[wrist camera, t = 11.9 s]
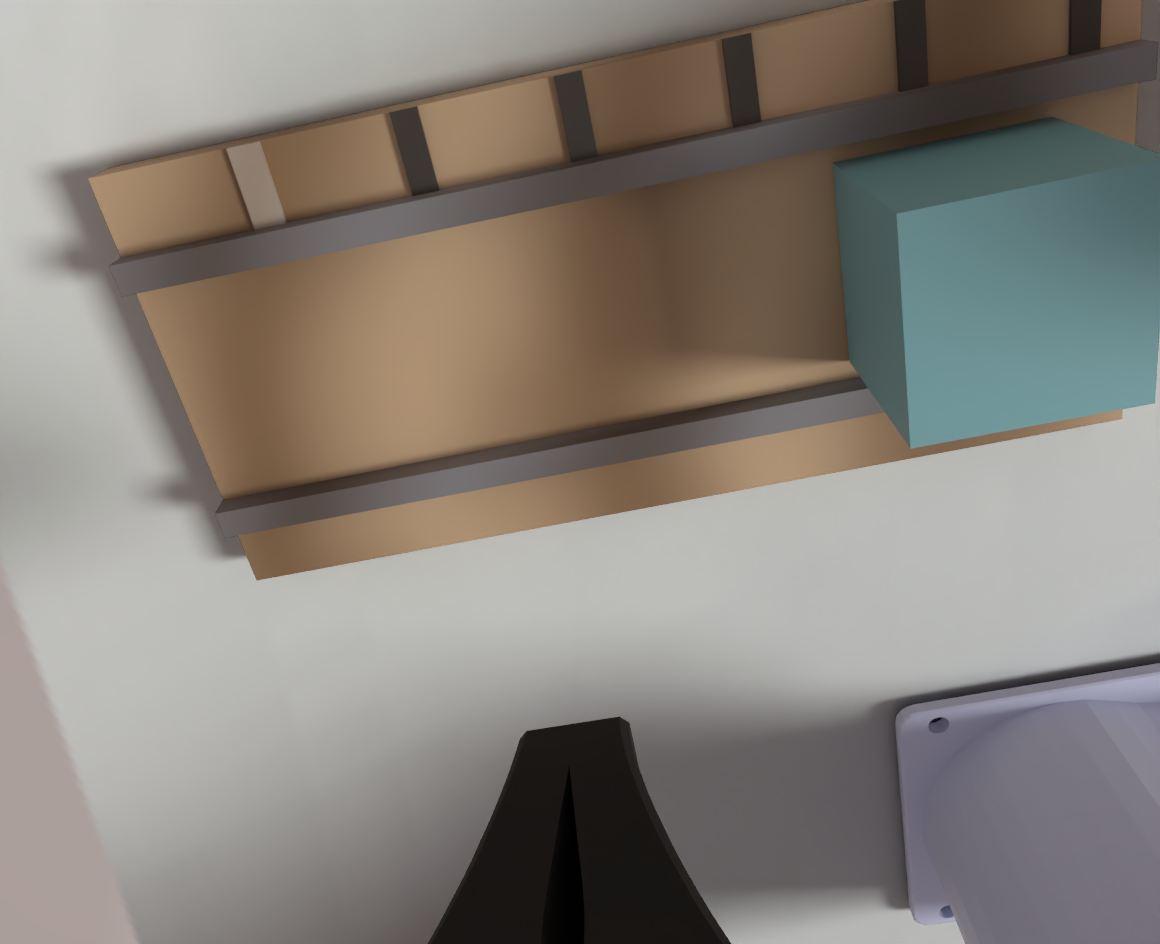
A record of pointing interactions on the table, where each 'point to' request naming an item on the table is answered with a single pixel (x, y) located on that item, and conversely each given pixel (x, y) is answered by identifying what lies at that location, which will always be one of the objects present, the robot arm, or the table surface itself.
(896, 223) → the teal cube
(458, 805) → the table surface
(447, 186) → the count board
